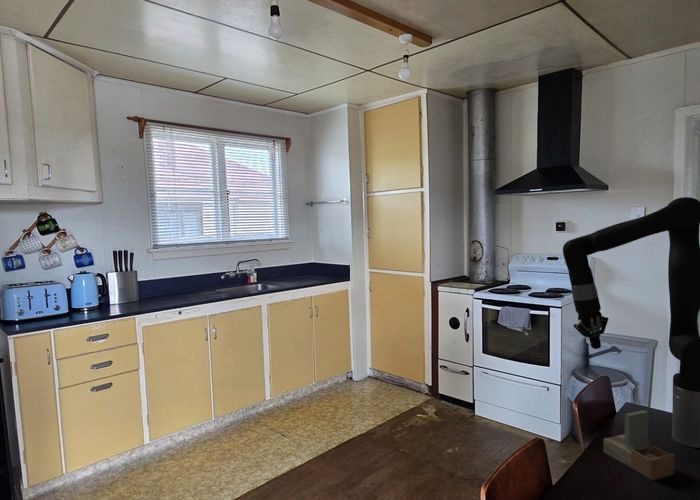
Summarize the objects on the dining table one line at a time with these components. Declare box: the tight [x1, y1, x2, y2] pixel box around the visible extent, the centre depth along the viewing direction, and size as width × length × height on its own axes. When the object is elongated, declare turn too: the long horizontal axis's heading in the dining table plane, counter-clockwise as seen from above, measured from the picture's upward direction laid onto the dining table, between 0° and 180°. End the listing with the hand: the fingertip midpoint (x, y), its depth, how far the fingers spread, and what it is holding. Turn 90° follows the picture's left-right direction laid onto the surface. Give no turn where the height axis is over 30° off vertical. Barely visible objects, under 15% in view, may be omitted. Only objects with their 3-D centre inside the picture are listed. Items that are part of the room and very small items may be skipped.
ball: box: [645, 454, 657, 459], centre depth 119 cm, size 4×4×4 cm
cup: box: [630, 444, 676, 481], centre depth 119 cm, size 8×6×6 cm
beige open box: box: [602, 433, 651, 468], centre depth 126 cm, size 8×9×4 cm
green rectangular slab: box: [624, 409, 651, 452], centre depth 123 cm, size 7×2×10 cm, turn 107°
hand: (596, 348), depth 145 cm, fingers closed
